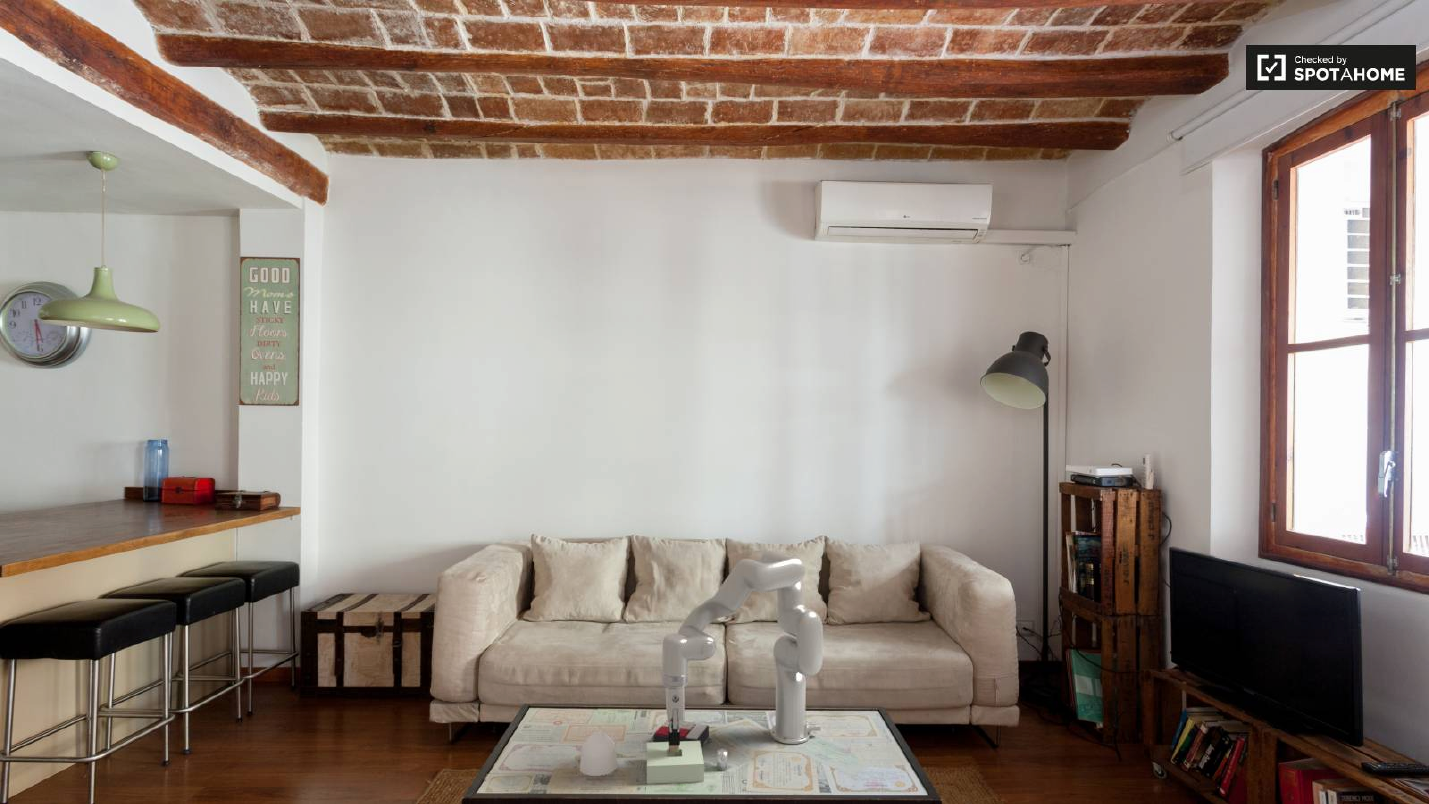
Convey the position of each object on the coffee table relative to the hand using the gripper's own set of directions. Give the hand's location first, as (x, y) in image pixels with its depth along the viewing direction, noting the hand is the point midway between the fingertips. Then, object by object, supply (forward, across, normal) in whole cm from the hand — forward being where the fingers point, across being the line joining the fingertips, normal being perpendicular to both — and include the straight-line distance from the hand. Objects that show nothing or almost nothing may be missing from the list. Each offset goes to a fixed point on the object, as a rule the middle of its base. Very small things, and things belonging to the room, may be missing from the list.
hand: (673, 741), depth 212 cm
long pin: (+3, 0, 0) cm, 3 cm away
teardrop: (+9, +4, +22) cm, 24 cm away
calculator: (+9, +19, -3) cm, 22 cm away
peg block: (+8, 0, 0) cm, 8 cm away
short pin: (+8, 0, -14) cm, 16 cm away
